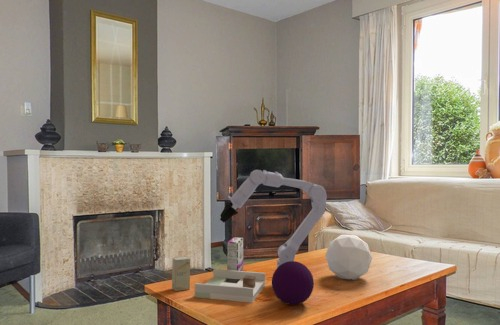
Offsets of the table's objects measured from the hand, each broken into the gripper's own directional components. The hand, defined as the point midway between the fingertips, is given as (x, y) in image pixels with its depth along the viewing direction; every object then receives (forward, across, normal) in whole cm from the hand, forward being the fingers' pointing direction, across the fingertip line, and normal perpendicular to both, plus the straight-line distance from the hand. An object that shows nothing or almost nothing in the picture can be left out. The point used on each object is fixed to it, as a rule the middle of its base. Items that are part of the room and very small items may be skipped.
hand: (221, 219), depth 172 cm
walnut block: (+12, +12, +24) cm, 29 cm away
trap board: (+18, +10, +20) cm, 28 cm away
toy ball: (+4, +26, +36) cm, 44 cm away
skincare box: (+31, +7, +4) cm, 32 cm away
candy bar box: (+18, -9, +22) cm, 29 cm away
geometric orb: (-14, -6, +60) cm, 62 cm away
